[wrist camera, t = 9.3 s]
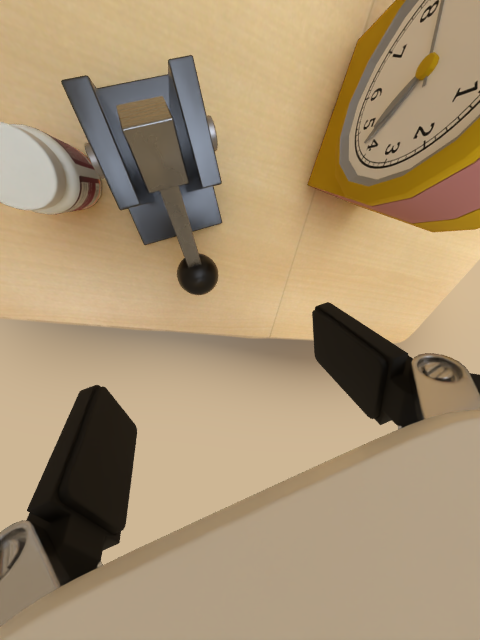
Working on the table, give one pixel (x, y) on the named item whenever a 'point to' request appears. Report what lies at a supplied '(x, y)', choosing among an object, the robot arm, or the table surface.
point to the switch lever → (166, 181)
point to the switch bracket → (117, 159)
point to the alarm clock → (410, 118)
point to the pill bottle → (44, 172)
